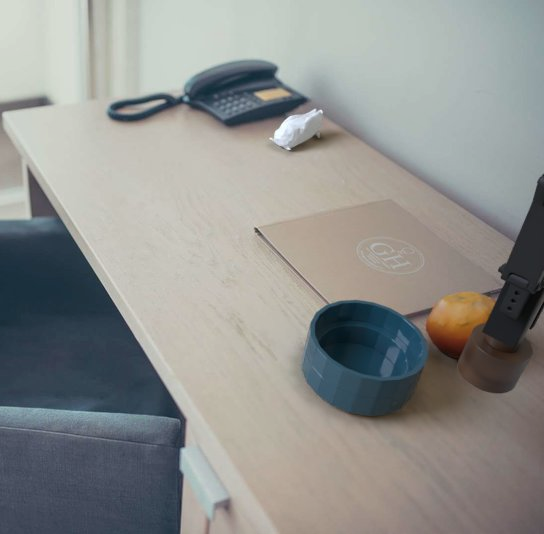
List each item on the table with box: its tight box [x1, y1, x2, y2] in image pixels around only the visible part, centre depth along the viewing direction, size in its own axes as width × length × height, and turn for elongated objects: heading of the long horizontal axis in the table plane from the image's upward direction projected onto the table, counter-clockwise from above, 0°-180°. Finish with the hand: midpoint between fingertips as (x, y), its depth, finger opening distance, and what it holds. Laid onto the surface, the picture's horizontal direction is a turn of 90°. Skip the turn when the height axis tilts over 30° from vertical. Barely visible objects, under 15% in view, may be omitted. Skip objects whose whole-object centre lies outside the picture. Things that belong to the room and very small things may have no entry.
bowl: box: [301, 299, 430, 417], centre depth 69 cm, size 12×12×6 cm
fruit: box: [425, 291, 497, 360], centre depth 74 cm, size 8×8×8 cm
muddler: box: [456, 294, 544, 395], centre depth 54 cm, size 5×5×16 cm
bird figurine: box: [269, 108, 324, 151], centre depth 114 cm, size 5×7×10 cm
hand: (508, 328), depth 56 cm, fingers closed on muddler, 3 cm apart
